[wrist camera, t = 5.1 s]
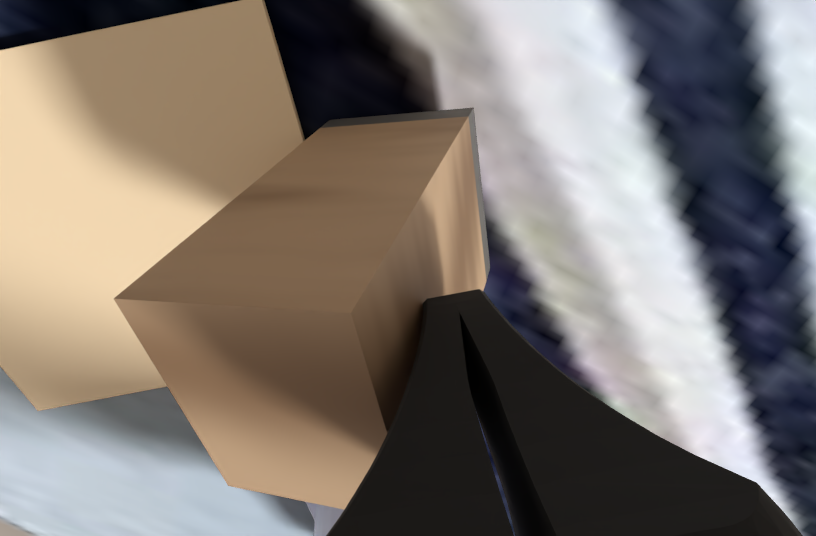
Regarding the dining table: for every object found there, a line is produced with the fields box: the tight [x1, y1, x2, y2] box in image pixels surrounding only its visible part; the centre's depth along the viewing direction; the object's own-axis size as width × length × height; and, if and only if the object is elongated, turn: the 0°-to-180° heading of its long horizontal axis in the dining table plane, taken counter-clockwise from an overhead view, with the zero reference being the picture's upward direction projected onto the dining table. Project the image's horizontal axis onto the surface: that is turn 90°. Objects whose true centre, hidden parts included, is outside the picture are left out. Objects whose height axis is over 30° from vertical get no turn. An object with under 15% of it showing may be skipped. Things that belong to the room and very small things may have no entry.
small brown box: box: [114, 108, 490, 510], centre depth 14 cm, size 6×5×10 cm
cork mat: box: [0, 0, 305, 411], centre depth 19 cm, size 14×15×1 cm
